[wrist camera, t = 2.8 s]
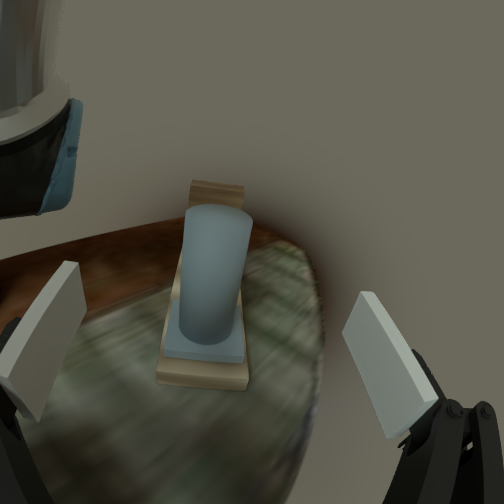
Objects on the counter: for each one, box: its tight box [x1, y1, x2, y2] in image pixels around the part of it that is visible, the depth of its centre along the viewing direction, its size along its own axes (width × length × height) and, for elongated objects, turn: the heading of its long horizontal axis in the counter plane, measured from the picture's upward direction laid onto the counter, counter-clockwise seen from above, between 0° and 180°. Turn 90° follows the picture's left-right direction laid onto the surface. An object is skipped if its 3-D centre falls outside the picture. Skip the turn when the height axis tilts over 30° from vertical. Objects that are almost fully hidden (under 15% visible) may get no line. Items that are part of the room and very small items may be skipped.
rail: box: [156, 180, 249, 391], centre depth 34 cm, size 29×8×10 cm, turn 5°
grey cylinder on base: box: [163, 204, 253, 364], centre depth 24 cm, size 7×7×12 cm
